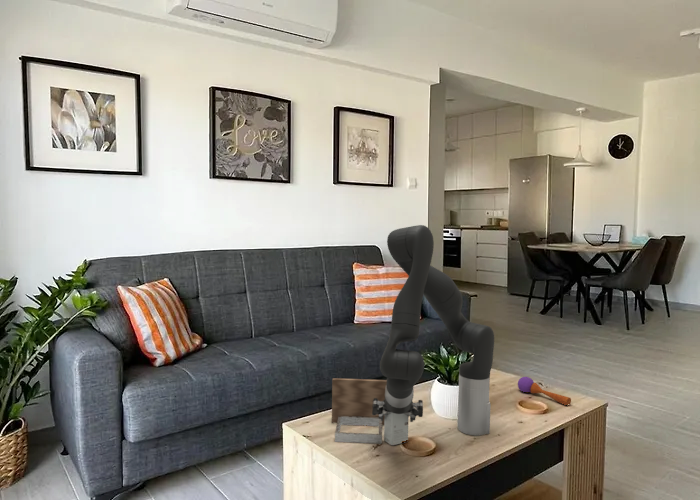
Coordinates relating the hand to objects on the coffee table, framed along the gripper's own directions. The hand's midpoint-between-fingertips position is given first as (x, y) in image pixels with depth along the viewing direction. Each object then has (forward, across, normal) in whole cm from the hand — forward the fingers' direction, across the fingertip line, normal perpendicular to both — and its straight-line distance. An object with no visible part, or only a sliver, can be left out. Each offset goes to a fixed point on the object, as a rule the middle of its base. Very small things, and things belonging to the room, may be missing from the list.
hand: (396, 418), depth 146 cm
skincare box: (+5, 0, +5) cm, 7 cm away
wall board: (+14, +11, -4) cm, 18 cm away
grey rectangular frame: (+8, +11, +2) cm, 14 cm away
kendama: (+34, -55, -24) cm, 69 cm away
